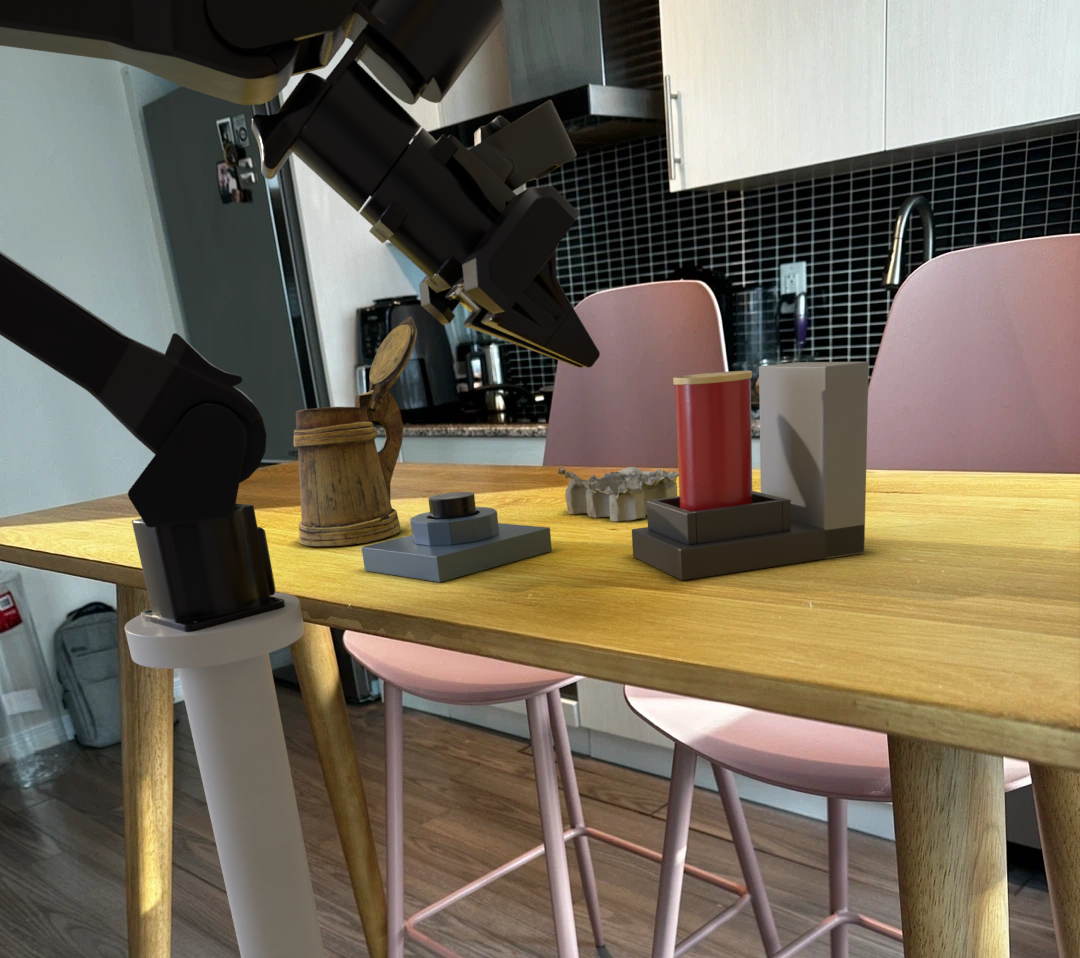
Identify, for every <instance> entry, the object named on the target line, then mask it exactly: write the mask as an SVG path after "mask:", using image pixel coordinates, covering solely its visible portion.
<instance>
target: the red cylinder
mask: <svg viewBox="0 0 1080 958" xmlns="http://www.w3.org/2000/svg"><path fill="white" fill-rule="evenodd" d="M752 378H753V370H752V371H751V370H734V371H733V370H731V371H718V372H706V373H696V374H687V375H681V376H675V377H673V378H672V382H673V385H674V392H675V393H674V395H675V416H676V417H675V418H676V421H675V422H676V443H677V444H676V445H677V466H678V467H677V469H678V471H677V472H679V475H678V492H679V494H678V496H680V508H681V509H684V510H688V511H691V512H693V511H701V510H708V509H715V508H723V507H730V506H737V505H745V504H752V503H753V498H752V491H753V443H752V438H753V437H752V433H753V432H752V387H751V386H752V380H751V379H752Z"/></svg>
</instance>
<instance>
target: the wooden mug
mask: <svg viewBox="0 0 1080 958" xmlns="http://www.w3.org/2000/svg"><path fill="white" fill-rule="evenodd" d="M417 338H418V329H417V326H416V323H415V321H414V318H413V316H412V315H410V316H409V317H407V318H405V319H404V320H402V321H401V322H400V323H399V324H398V325H396V326H395V327H393V329H391V331H390V332H389V333H388V334H387V335H386V337H385V338H384V339H383V341H382V342H381V344H380V345H379V347H378V349H377V351H376V353H375V355H374V358H373V360H372V363H371V365H370V370H369V374H368V375H369V377H368V379H369V389H368V392H364V393H360V394H357V395H355V399H354V406H328V407H315V408H307V409H299V410H296V411H295V424H296V428H295V429H294V430H293V447H294V448H295V449H297V455H298V457H297V458H298V473H299V495H300V512H301V513H300V517H301V519H300V521H299V522H298V543H300V544H302V545H304V546H308V547H325V548H327V547H344V546H351V545H358V544H365V543H370V542H375V541H380V540H385V539H388V538H391V537H393V536H395V535H397V534H399V532H401V528H402V527H401V524H400V519H399V515H398V511H397V510H396V509H395V508H393V507H392V502H391V482H392V478H393V475H394V471H395V468H396V465H397V463H398V462H397V461H398V459H399V456H400V452H401V448H402V444H403V437H404V424H403V418H402V413H401V410H400V408H399V405H398V403H397V401H396V399H395V398H394V396H393V395H392V393H391V391H390V389H391V388H392V386H393V385H394V384H395V383H396V382H397V380H398V379H399V377H400V376H401V374H402V373H403V371H404V370H405V368H406V367H407V365H408V363H409V361H410V358H411V357H412V354H413V351H414V349H415V346H416V342H417ZM373 422H376V423H377V422H378V423H379V424H380V425H381V427H383V429H384V433H385V441H384V443H383V446H382V448H381V449H380V450H379V451H378V449H377V445H376V438H377V437H378V431H377V429H376V428H375V425H374V424H373Z"/></svg>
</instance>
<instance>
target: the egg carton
mask: <svg viewBox="0 0 1080 958" xmlns="http://www.w3.org/2000/svg"><path fill="white" fill-rule="evenodd" d="M557 474H558V475H562V476H563V477H564V478H565V479H569V478H570V479H569V484H568V485H567V486H566V488H565V491H564V492H565V495H564V497H565V504H566V509H567V510H566V511H567V513H568V514H570V515H580V514H587V516H588V518H607V517H609V519H610V521H611V522H612V521H613V522H626V521H636V520H640V519H646V516H647V500H655V499H662V498H670V497H677V496H678V483H677V478H679V471H677V472H675V471H674V470H671V471H670V472H668V471H666V470H662V469H660V468H657V470H655V471H652V470H647V471H643V470H641V469H639V468H637V467H635V466H629V467H625V468H623V469H621V470H619V471H611V472H609V473H608V472H605V473H604V475H603V476H602V477H599V478H598V477H596V476H595V474H592V475H591V476H590V477H589V479H588V480H587V479H584V478H581V477H580V476H578V475H577V474H576V473H575V472H573V471H568V470H566V468H563V467H559V468H558V471H557Z"/></svg>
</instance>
